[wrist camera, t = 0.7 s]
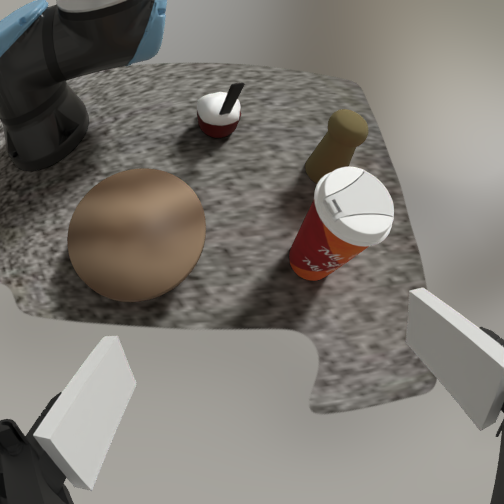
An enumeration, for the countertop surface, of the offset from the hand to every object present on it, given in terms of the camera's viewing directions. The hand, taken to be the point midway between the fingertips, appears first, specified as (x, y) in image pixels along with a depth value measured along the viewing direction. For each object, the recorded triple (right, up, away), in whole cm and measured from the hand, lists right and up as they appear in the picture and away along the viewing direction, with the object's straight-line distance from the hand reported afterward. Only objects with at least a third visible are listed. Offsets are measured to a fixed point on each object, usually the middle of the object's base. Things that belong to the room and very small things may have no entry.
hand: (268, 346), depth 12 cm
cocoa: (-6, +22, +31) cm, 38 cm away
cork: (+10, +16, +31) cm, 36 cm away
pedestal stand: (-13, +4, +22) cm, 26 cm away
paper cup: (+7, +3, +25) cm, 26 cm away
